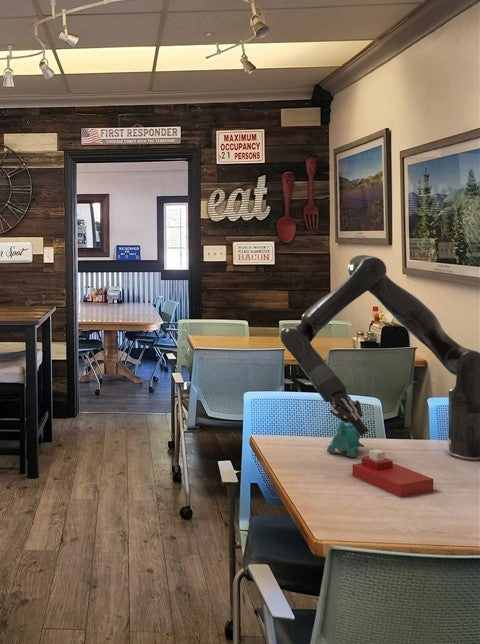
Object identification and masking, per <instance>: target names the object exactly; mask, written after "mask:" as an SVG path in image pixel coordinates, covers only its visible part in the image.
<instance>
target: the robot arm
mask: <svg viewBox="0 0 480 644" xmlns="http://www.w3.org/2000/svg"><path fill="white" fill-rule="evenodd" d="M347 270H348V274H349V277H348V278H346V280H345V281H344V282H343V283H342V284H341V285H339V286H338V287H336V288H335V289H334V290H332V291H330V292H329V293H327V294H326V295H323V296H322V297H321V298H319V299H318V300H317V301H316V302H314V303H313V305H311V306H310V307H309V308H308V309H307V310H306V311H305V312H304V313H303V315H302V316H301V320H300V321H299V322H298V324H297V325H296V326H295V325H287V326H285V327H284V328H282V330H281V331H280V336H279V338H280V342H281V343H282V345H283V346H284V347H285V348H286V349H287V351H288V352H289V353H290V355H291V356H292V357H293V358H294V359H295V361H296V362H297V364H298V365H299V367H300V368H301V370H302V371H303V373H304V374H305V376H306V377H307V378H308V380H309V382H310V383H311V385H312V386H313V388H314V389H315V391H316V392H317V393H318V394H319V396H320V397H321V398H322V400H323V401H324V402H325V403H329V404H330V406H331V408H330V410H329V412H330V414H331V415H333V416H334V417H336V418H338V419H339V420H340V421H343V422H344V424H349V425H351V424H352V425H353V426H354V427H355V429H356V430H357V431H358V432H359V434H360V435H361V436H363V435H366V434H367V433H368V432H369V429H368V427H367V426H366V425H365V424H364V422H363V421H362V417H363V416H364V415H363V410H362V406H361V403H360V401H359V400H353V399H352V398H351V396H350V395H348V394H347V393H346V391H347V386H346V385H345V384H344V382H343V381H342V380H341V378H340V377H339V376H338V374H336V372H335V371H334V370H333V368H332V367H330V365H329V364H328V363H327V362H326V361H325V359H324V358H323V357H322V355H321V354H320V353H319V352H318V351H317V350H316V349H315V348H314V346H313V345H312V344H311V343H312V341H313V340H314V339H315V338H316V336H317V335H318V333H319V332H320V331H321V330H322V329H324V327H326V326H327V325H328V324H329V323H330V322H331V321H333V320H334V318H335V317H337V315H338V314H340V313H342V311H343V310H345V308H346V307H348V306H349V305H350V304H351V303H353V302H354V301H356V300H357V299H358V298H359V297H361V296H362V295H363V294H365V293H367V292H369V293H370V294H371V295H372V296H374V298H375V299H377V301H378V302H380V303H381V305H382V306H383V307H384V309H385V310H387V311H388V312H389V313H390V315H392V317H394V318H395V320H396V321H397V322H398V323H399V324H400V325H401V326H402V327H404V328H405V329H406V330H407V331H408V332H409V333H410V334H411V335H413V336H414V337H415V338H416V339H417V340H418V341H419V342H420V343H422V344H423V345H424V346H425V347H426V348H427V349H429V351H430V352H431V353H432V354H433V355H434V356H435V357H436V359H437V360H438V361H439V362H440V363H441V365H442V366H443V367H444V368H445V369H446V370H447V371H448V372H449V373H451V374H452V375H454V376H455V386H454V387H451V388H450V389H449V390H448V437H447V439H446V440H447V443H448V450H447V454H449V455H450V456H452V457H454V458H458V459H461V460H466V461H467V460H468V461H480V352H479V351H478V350H474V349H471V348H466V347H464V346H462V345H461V344H459V343H458V342H456V341H455V340H454V339H453V338H452V337H451V336H449V335H448V333H446V332H445V330H444V329H443V326H442V325H441V323H440V321H439V318H438V317H437V316H436V315H435V314H434V312H433V311H432V310H431V309H430V308H429V307H428V306H427V305H426V304H424V302H422V301H421V300H420V299H419V298H418V297H416V296H415V295H414V294H412V293H411V292H409V291H407V290H406V289H405V288H404V287H401V286H400V285H398V284H397V283H396V282H394V281H393V280H392V279H391V278H390V277H389V276H388V275H387V270H388V269H387V265H386V263H385V262H384V261H383V260H382V259H381V258H379V257H376V256H374V255H368V254H362V255H356V256H354V257H352V258H351V259H350V260H349V263H348V267H347Z"/></svg>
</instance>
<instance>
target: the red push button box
mask: <svg viewBox="0 0 480 644" xmlns="http://www.w3.org/2000/svg"><path fill="white" fill-rule="evenodd" d="M360 459H361V462H360V463H359V462H358V463H353V464H352V466H351V468H352V471H351V472H352V473H351V475H352V477H353V478H356V479H358V480H360V481H363V482H365V483H368V484H370V485H372V486H374V487H376V488H378V489H381V490H384V491H386V492H387V493H390V494H392V495H394V496H397V497H399V498H404V497H408V496H409V497H410V496H414V495H419V494H425V493H429V492H434V478H433V477H429V476H427V475H424V474H422V473H419V472H417V471H414V470H412V469H409V468H407V467H404V466H402V465H399V464H397V463H394V461H393V460H391V459H389V458H386V457H385V460H384V461H378V462H377V461H375V460H372V459H370V458H369V455H365V456H361V457H360Z"/></svg>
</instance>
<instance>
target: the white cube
mask: <svg viewBox="0 0 480 644" xmlns="http://www.w3.org/2000/svg"><path fill="white" fill-rule="evenodd" d="M368 452H369V453H368V456H369V458H370V459H372V460H375V461H377V462H378V461H384V460H385V458H386V456H385V455H386V453H385V451H383V450H380V449H377V448H375V449H369V451H368Z"/></svg>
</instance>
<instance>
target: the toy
mask: <svg viewBox="0 0 480 644" xmlns="http://www.w3.org/2000/svg"><path fill="white" fill-rule="evenodd" d="M361 436H362V435H360V434H359V432H358V431H357V430H356V429H355V427H354V426H353V425H352V424H345V422H343V421H342V420H340V421H339V424H338V427H337V432H336V434H335V435H334V436H333V437H332V440H331V441H330V442H329V445H328V447H327V449H326V452H327V453H329V454H330V455H333V454H334V455H335V454H336V450H338V451H340V452H343V453H346V456H347V457H350V459H353V458H356V457H357V455H356V452H357V451H358V450H359V448H360V447H362V448H365V445H364V444H363V443H361V442H360V439H361Z"/></svg>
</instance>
